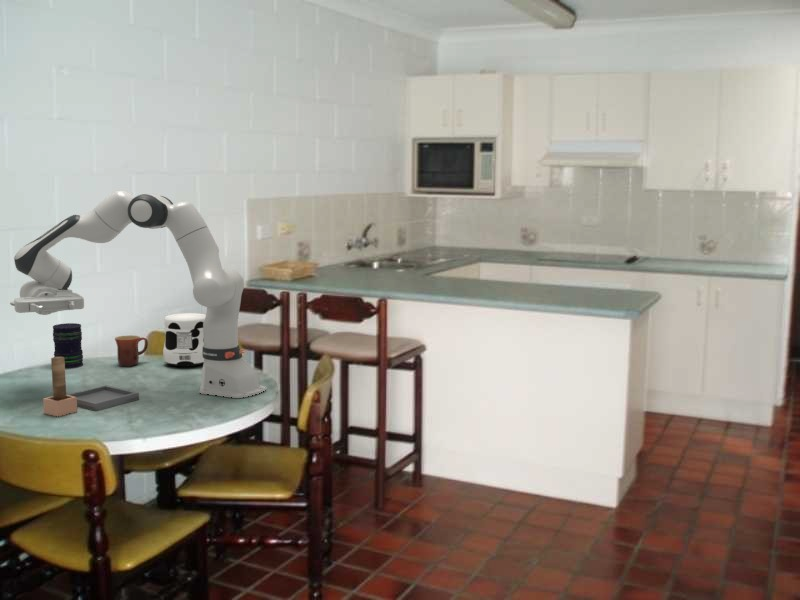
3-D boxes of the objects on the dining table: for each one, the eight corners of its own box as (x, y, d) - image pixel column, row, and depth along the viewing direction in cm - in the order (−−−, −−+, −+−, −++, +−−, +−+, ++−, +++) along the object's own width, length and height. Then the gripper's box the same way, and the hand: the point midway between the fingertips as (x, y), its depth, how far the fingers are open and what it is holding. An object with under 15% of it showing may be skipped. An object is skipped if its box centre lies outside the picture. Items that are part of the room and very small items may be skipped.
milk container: (194, 357, 330) (193, 310, 327) (220, 364, 318) (219, 316, 315) (154, 364, 317) (152, 316, 315) (179, 371, 305) (178, 322, 303)
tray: (139, 399, 268) (138, 392, 268) (95, 410, 255) (95, 403, 255) (106, 391, 277) (105, 385, 277) (62, 402, 264) (62, 395, 264)
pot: (77, 411, 254) (76, 397, 254) (57, 416, 249) (56, 401, 248) (63, 408, 258) (62, 393, 257) (43, 413, 252) (43, 398, 252)
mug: (121, 368, 309) (120, 340, 308) (112, 364, 316) (111, 337, 314) (153, 364, 317) (152, 337, 315) (143, 360, 324) (142, 333, 322)
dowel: (69, 410, 254) (66, 357, 251) (58, 413, 251) (56, 359, 248) (62, 408, 256) (59, 356, 253) (51, 411, 253) (48, 358, 250)
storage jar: (60, 370, 307) (58, 329, 304) (50, 365, 314) (48, 325, 311) (87, 366, 313) (85, 325, 311) (77, 361, 320) (75, 322, 318)
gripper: (8, 292, 265) (19, 300, 255) (76, 289, 278) (89, 296, 267) (8, 312, 266) (20, 320, 256) (76, 308, 279) (89, 316, 268)
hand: (56, 308), depth 261 cm, fingers open, 8 cm apart
